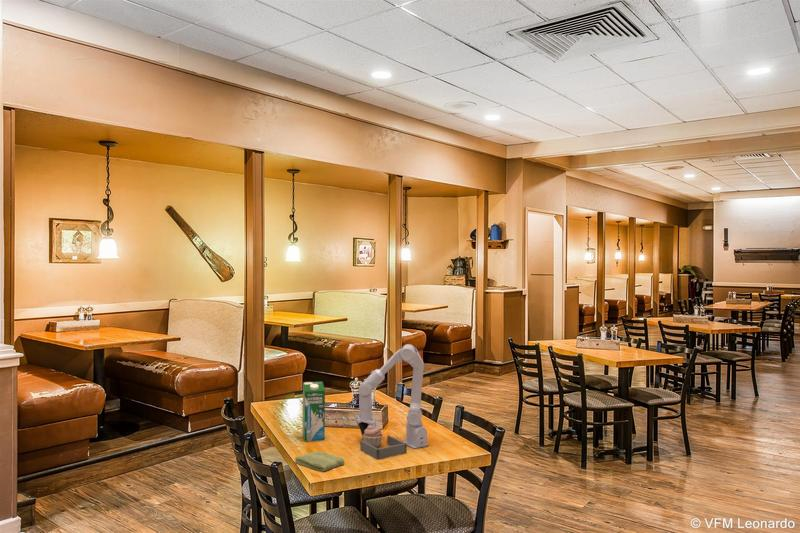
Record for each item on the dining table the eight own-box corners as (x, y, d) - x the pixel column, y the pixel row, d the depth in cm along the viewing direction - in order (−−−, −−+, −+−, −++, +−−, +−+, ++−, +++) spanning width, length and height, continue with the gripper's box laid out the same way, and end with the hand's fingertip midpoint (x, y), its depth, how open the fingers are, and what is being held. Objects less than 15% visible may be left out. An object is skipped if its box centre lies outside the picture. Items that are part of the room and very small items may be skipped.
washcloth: (316, 455, 239) (316, 447, 239) (346, 465, 228) (346, 457, 228) (292, 463, 229) (292, 455, 229) (322, 474, 218) (322, 466, 218)
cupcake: (387, 446, 250) (387, 423, 250) (370, 450, 244) (371, 427, 244) (374, 441, 257) (374, 419, 257) (357, 445, 251) (357, 422, 251)
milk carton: (304, 441, 256) (304, 386, 255) (302, 435, 264) (302, 382, 264) (324, 440, 258) (325, 385, 258) (321, 434, 267) (322, 381, 266)
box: (406, 453, 242) (406, 443, 242) (377, 459, 234) (377, 449, 234) (388, 444, 253) (388, 435, 253) (360, 450, 245) (360, 440, 245)
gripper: (349, 406, 260) (349, 436, 260) (366, 413, 248) (365, 444, 248) (363, 404, 264) (363, 433, 264) (379, 411, 252) (379, 442, 252)
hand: (365, 438), depth 256 cm, fingers closed
